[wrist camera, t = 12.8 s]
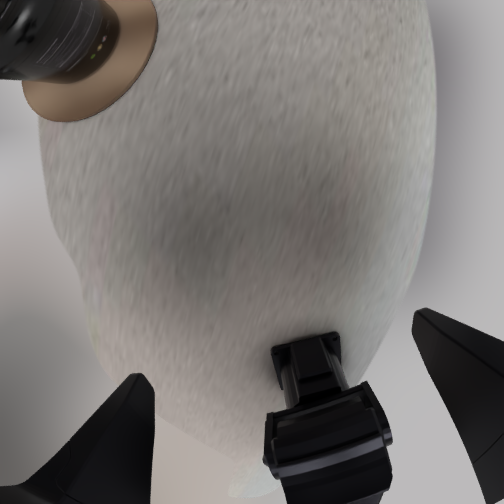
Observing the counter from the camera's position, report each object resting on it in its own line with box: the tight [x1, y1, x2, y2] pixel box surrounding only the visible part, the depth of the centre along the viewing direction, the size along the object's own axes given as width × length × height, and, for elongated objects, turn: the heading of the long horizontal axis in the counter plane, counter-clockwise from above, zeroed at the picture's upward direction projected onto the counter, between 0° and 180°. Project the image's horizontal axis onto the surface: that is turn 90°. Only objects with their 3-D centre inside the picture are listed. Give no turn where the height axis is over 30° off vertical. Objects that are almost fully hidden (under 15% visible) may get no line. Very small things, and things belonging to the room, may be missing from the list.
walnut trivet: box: [22, 0, 158, 122], centre depth 13 cm, size 12×12×1 cm
